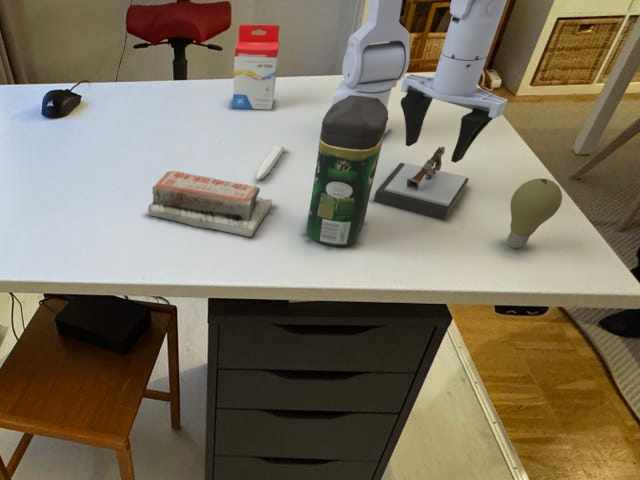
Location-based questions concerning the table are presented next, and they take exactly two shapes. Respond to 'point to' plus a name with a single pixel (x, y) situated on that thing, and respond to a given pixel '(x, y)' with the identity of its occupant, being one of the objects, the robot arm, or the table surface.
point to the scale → (422, 191)
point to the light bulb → (532, 209)
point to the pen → (269, 161)
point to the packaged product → (208, 203)
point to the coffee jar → (346, 169)
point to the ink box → (255, 67)
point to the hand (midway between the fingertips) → (433, 151)
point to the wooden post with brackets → (427, 169)
